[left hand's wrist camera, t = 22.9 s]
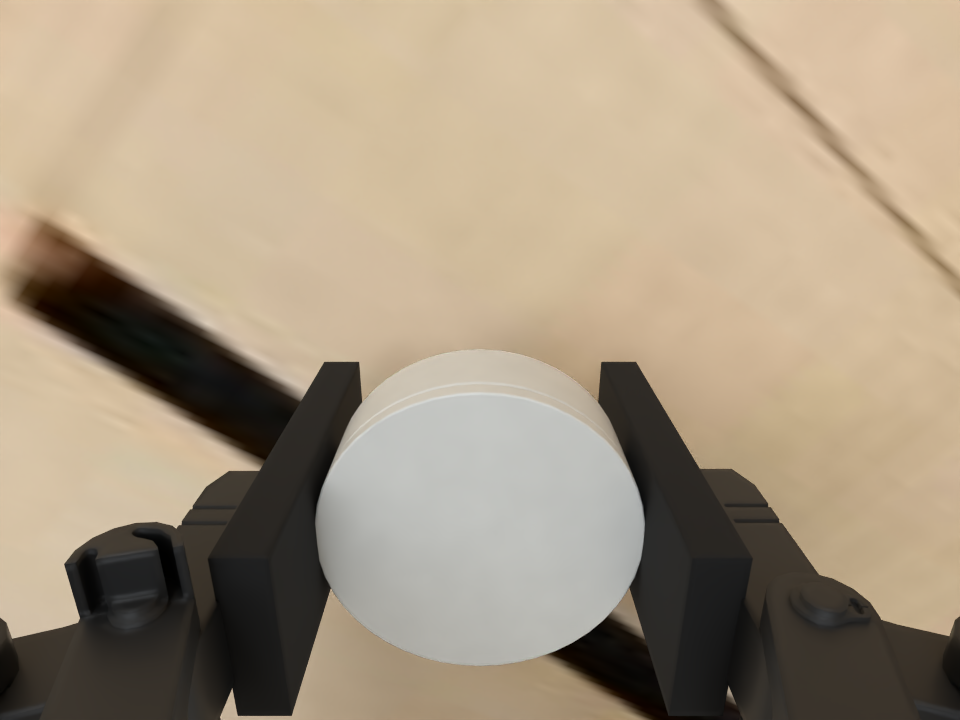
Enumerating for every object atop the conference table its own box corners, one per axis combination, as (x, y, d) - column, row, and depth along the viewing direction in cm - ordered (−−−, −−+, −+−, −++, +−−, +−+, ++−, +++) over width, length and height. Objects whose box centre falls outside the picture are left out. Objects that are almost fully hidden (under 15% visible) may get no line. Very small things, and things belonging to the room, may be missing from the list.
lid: (410, 624, 13) (400, 700, 12) (286, 410, 12) (252, 465, 10) (656, 543, 13) (685, 613, 11) (565, 302, 11) (581, 339, 9)
